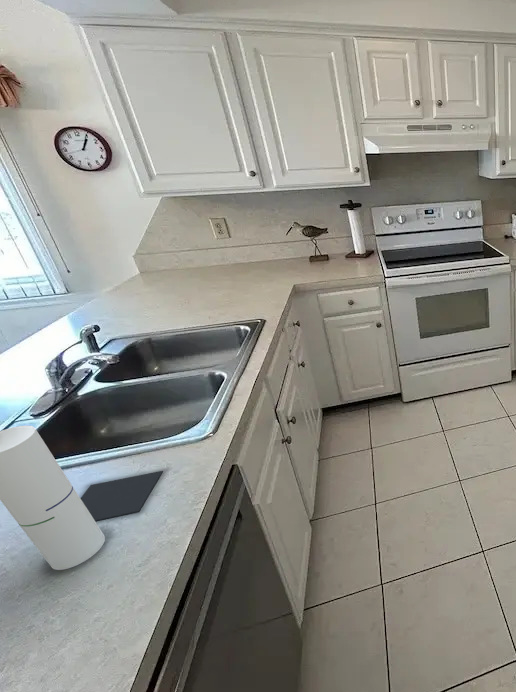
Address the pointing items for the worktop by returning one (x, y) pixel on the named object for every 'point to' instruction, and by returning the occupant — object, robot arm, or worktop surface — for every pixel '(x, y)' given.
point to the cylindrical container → (45, 500)
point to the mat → (119, 496)
